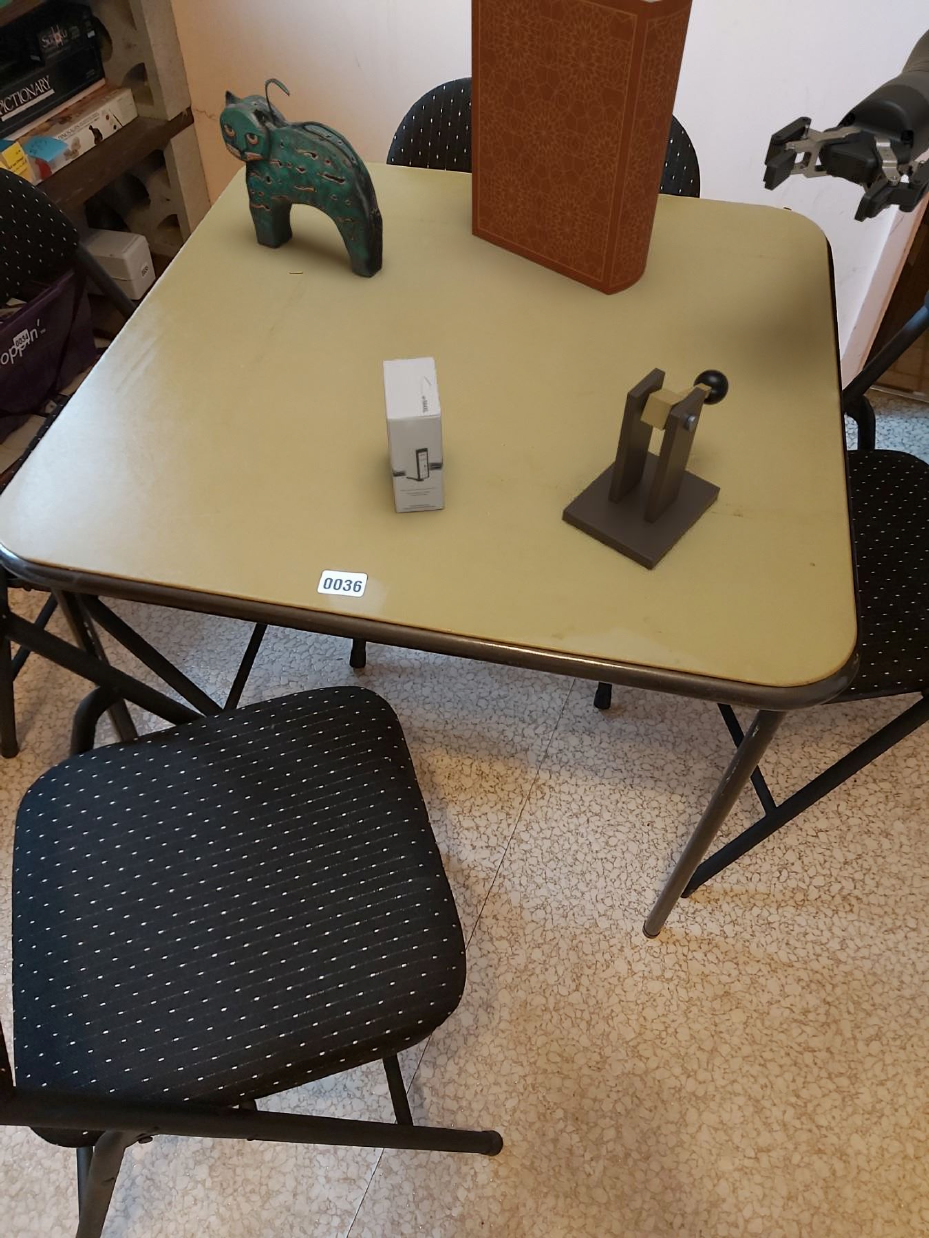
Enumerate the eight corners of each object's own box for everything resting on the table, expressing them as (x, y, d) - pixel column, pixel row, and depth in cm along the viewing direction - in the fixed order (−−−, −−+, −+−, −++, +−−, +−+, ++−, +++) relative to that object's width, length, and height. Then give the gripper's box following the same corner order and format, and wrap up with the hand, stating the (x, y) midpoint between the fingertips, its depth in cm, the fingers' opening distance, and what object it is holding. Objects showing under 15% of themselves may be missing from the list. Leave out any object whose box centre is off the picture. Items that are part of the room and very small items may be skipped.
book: (471, 234, 111) (471, -46, 86) (510, 209, 114) (520, -66, 90) (615, 298, 102) (659, 5, 77) (652, 269, 105) (705, -19, 81)
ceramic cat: (242, 244, 110) (202, 73, 94) (272, 221, 113) (239, 53, 97) (367, 286, 103) (348, 111, 87) (396, 261, 107) (382, 88, 91)
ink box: (390, 454, 86) (379, 356, 76) (438, 450, 86) (433, 352, 76) (395, 515, 80) (384, 418, 71) (446, 510, 81) (442, 413, 71)
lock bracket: (631, 452, 85) (654, 335, 74) (717, 497, 81) (756, 380, 70) (561, 519, 80) (576, 403, 69) (650, 570, 76) (681, 456, 65)
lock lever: (696, 393, 81) (709, 361, 79) (725, 406, 79) (739, 375, 78) (633, 421, 72) (646, 387, 70) (665, 437, 70) (679, 402, 68)
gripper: (835, 64, 80) (752, 124, 72) (986, 106, 74) (913, 175, 67) (810, 147, 86) (731, 210, 78) (948, 191, 80) (876, 263, 73)
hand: (814, 194), depth 72 cm, fingers open, 8 cm apart
